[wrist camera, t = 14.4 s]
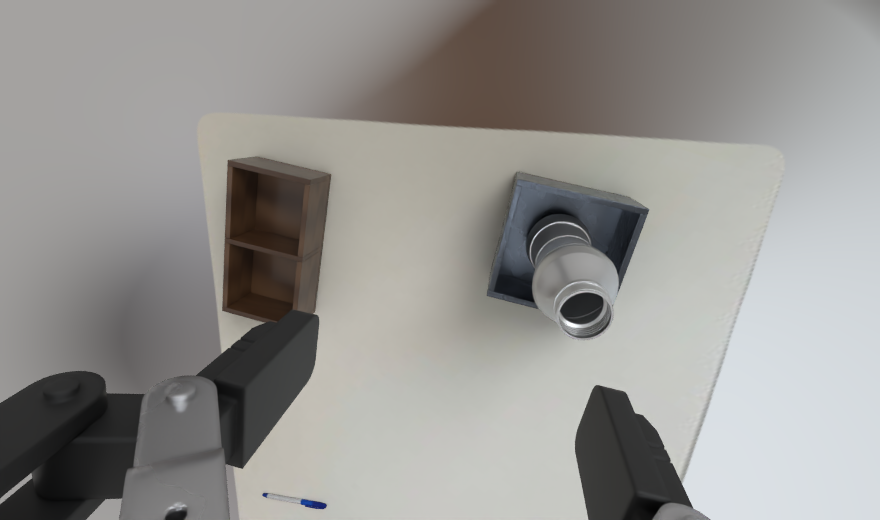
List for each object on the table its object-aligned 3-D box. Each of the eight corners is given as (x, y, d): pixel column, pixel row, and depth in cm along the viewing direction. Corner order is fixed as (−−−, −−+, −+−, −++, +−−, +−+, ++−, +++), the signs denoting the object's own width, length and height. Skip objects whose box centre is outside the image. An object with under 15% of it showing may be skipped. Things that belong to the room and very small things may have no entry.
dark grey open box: (516, 171, 46) (517, 178, 40) (630, 197, 45) (649, 209, 39) (489, 274, 50) (486, 296, 44) (593, 299, 49) (605, 326, 43)
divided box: (256, 156, 50) (227, 160, 45) (331, 174, 49) (310, 179, 44) (248, 294, 56) (222, 310, 51) (314, 312, 55) (295, 330, 50)
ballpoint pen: (327, 501, 66) (324, 507, 65) (327, 505, 66) (324, 511, 65) (264, 491, 67) (260, 496, 66) (264, 495, 67) (261, 501, 66)
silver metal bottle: (512, 241, 48) (512, 317, 29) (556, 196, 45) (588, 247, 27) (554, 278, 48) (581, 377, 29) (600, 236, 46) (661, 314, 27)
